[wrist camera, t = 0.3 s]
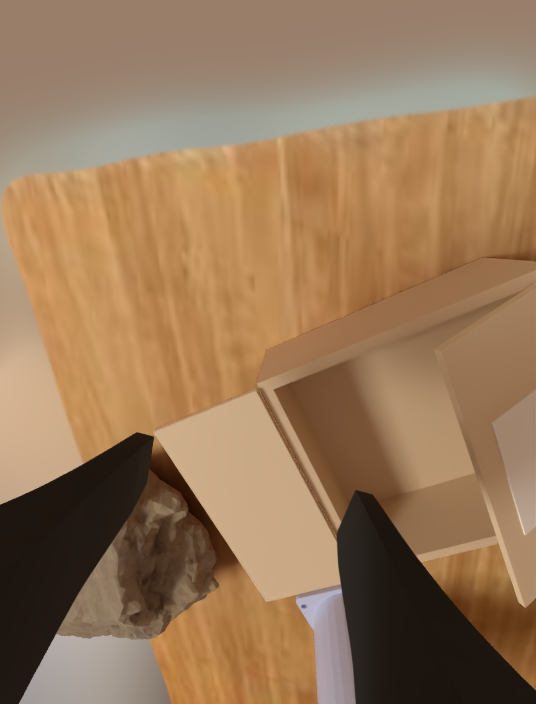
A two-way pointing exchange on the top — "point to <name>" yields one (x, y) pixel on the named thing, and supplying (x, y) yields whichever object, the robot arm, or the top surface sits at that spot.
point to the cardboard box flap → (501, 424)
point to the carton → (347, 435)
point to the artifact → (146, 571)
